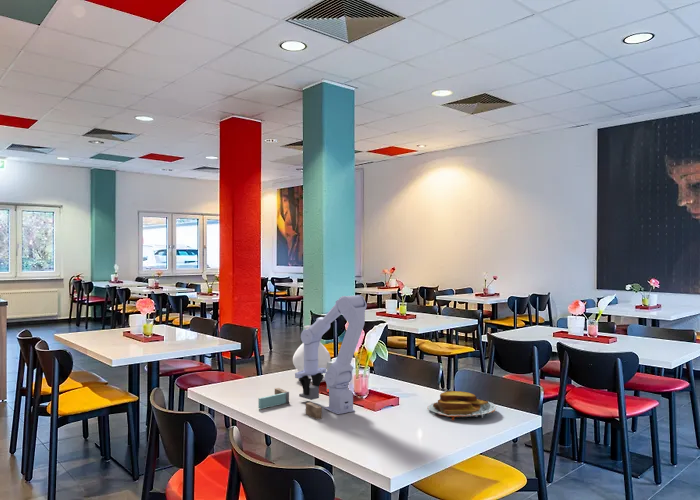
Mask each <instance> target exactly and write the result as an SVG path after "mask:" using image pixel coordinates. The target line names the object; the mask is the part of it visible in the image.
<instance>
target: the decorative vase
mask: <svg viewBox="0 0 700 500" xmlns="http://www.w3.org/2000/svg"><path fill="white" fill-rule="evenodd" d="M311 325H312V324H308V325H304V326H303V329H309V328H310V326H311ZM331 358H332V357H331V355H330V352H329V351H328V349H327V348H326V346H325V345H324V344H323V343H322V342H321V341H320V342H319V347H318V368H326V370H327V362H332V360H331ZM292 364H293V366H294V368H295V369H296V370H297V371H298V372H300V371H303V369H304V343H303V342H302V343H301V344H300V345H299V346H298V347H297V349H296V350H295V352H294V353H293V356H292ZM322 375H324V373H322ZM308 377H309V378H311V381H310V383H312V377H311V376H308ZM297 379H298V378H297ZM322 380H323V381H325V376H324V377H323V379H322ZM298 381H299V379H298Z"/></svg>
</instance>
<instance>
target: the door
mask: <svg viewBox="0 0 700 500" xmlns="http://www.w3.org/2000/svg"><path fill="white" fill-rule="evenodd" d="M289 403H290V391H287V392H285V393H281V394H276V395H275V394H272V395H267V396H262V397H258V409H259V410H262V409H266V408H269V407H274V406H278V405H279V406H280V405H284V404H289Z"/></svg>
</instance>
